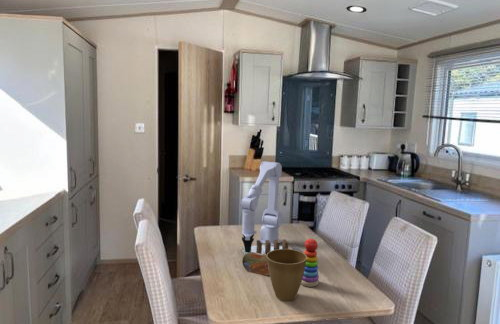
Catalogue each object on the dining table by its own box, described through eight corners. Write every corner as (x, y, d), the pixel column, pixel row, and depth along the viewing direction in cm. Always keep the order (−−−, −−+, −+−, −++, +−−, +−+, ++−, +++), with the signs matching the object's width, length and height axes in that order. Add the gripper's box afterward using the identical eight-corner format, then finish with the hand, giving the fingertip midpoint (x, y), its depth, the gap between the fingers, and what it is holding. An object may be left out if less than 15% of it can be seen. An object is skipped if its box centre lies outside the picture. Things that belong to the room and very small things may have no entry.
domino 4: (275, 257, 181) (276, 243, 180) (273, 253, 185) (273, 239, 185) (279, 257, 181) (279, 243, 180) (276, 253, 186) (277, 239, 185)
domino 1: (248, 255, 178) (248, 240, 177) (244, 251, 182) (244, 237, 182) (251, 254, 179) (251, 240, 178) (247, 251, 183) (247, 237, 182)
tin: (241, 270, 165) (242, 251, 164) (245, 267, 168) (245, 249, 167) (273, 277, 158) (273, 258, 157) (276, 274, 161) (276, 256, 160)
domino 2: (258, 257, 179) (258, 243, 178) (256, 254, 184) (256, 240, 183) (261, 257, 180) (261, 243, 179) (259, 254, 184) (259, 240, 183)
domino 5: (284, 256, 181) (284, 242, 181) (281, 253, 186) (282, 239, 185) (287, 256, 182) (288, 242, 181) (285, 253, 186) (285, 239, 186)
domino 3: (267, 257, 180) (267, 243, 179) (264, 253, 185) (265, 240, 184) (270, 257, 180) (270, 243, 179) (268, 253, 185) (268, 240, 184)
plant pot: (280, 284, 152) (281, 245, 150) (312, 295, 143) (314, 255, 141) (257, 297, 141) (258, 255, 139) (290, 310, 131) (292, 267, 129)
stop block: (295, 257, 181) (296, 251, 181) (291, 251, 188) (292, 246, 188) (301, 256, 182) (302, 251, 181) (297, 251, 189) (297, 246, 188)
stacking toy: (295, 282, 154) (296, 238, 152) (308, 277, 159) (310, 234, 157) (309, 289, 148) (311, 243, 146) (322, 283, 153) (325, 239, 151)
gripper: (256, 227, 171) (255, 255, 173) (257, 218, 186) (256, 245, 187) (241, 226, 172) (240, 255, 173) (242, 218, 186) (242, 244, 188)
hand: (247, 250), depth 180 cm, fingers closed on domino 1, 5 cm apart
